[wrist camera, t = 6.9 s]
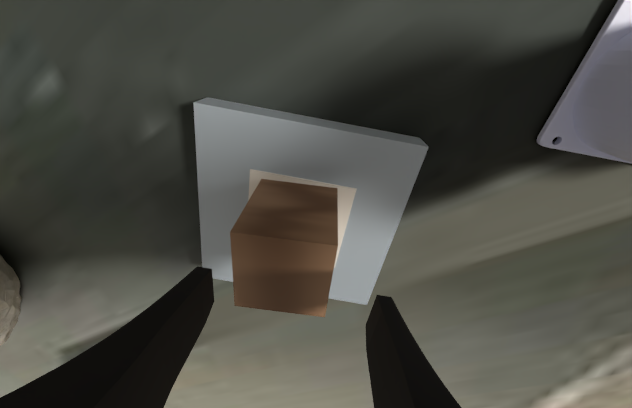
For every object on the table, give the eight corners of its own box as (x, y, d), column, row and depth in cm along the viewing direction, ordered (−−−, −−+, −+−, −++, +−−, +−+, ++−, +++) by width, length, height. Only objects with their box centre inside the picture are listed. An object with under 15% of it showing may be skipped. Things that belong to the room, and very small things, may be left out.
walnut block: (337, 188, 18) (338, 245, 12) (327, 248, 20) (324, 317, 15) (261, 178, 18) (230, 232, 12) (261, 239, 20) (234, 305, 15)
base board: (419, 137, 18) (429, 147, 16) (364, 286, 25) (366, 305, 23) (207, 97, 17) (192, 102, 16) (212, 260, 24) (202, 277, 22)
